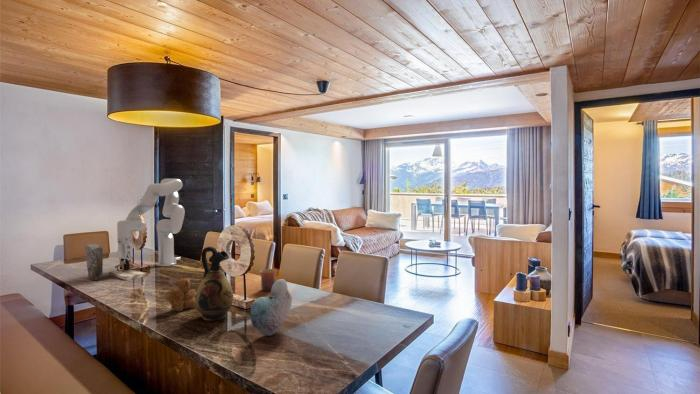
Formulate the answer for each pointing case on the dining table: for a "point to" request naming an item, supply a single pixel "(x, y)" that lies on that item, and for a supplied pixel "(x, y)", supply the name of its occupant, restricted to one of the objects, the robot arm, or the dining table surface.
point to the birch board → (127, 274)
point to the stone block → (94, 261)
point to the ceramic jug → (214, 288)
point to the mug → (267, 279)
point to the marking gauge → (123, 265)
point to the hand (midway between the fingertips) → (124, 269)
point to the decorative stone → (271, 308)
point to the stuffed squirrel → (181, 296)
